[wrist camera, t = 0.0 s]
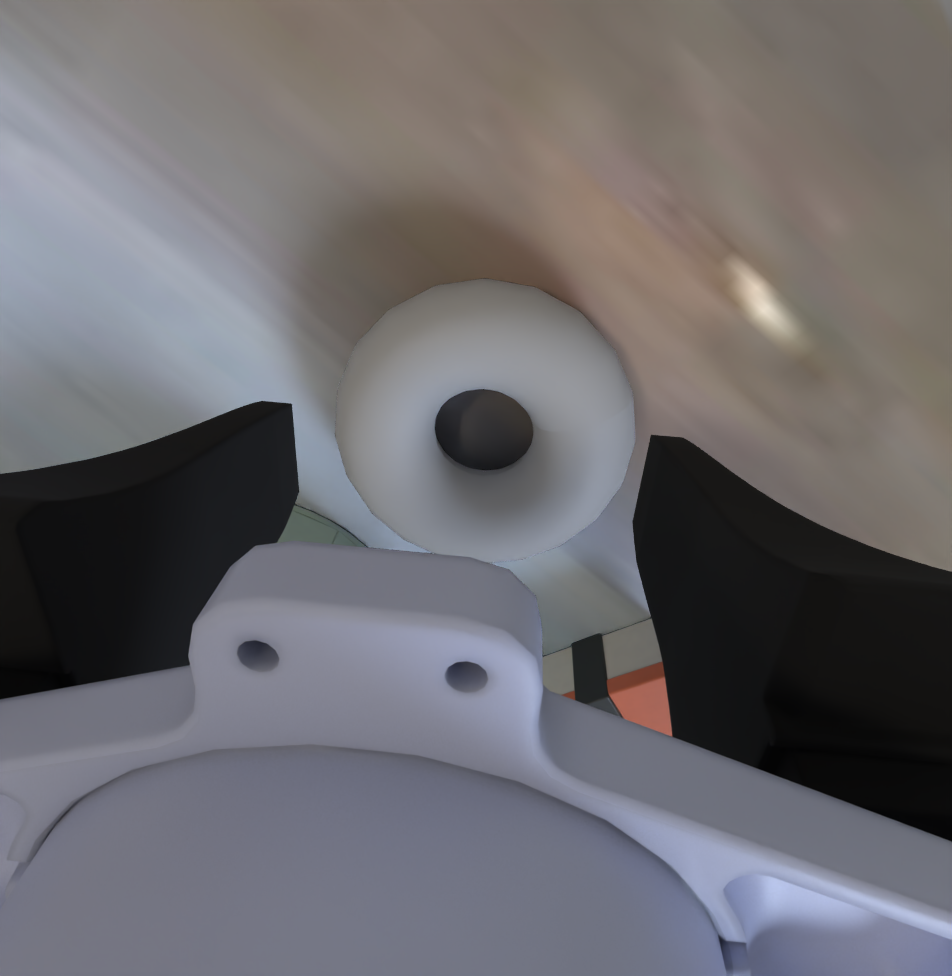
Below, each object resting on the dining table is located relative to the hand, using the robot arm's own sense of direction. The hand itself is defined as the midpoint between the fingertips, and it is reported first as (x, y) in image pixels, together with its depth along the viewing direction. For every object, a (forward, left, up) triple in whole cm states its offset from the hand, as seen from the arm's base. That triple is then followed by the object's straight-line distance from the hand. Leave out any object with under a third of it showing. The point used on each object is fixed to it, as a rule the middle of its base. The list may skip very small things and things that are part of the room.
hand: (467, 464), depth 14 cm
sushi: (-15, -6, -10) cm, 19 cm away
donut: (-3, 0, -10) cm, 11 cm away
